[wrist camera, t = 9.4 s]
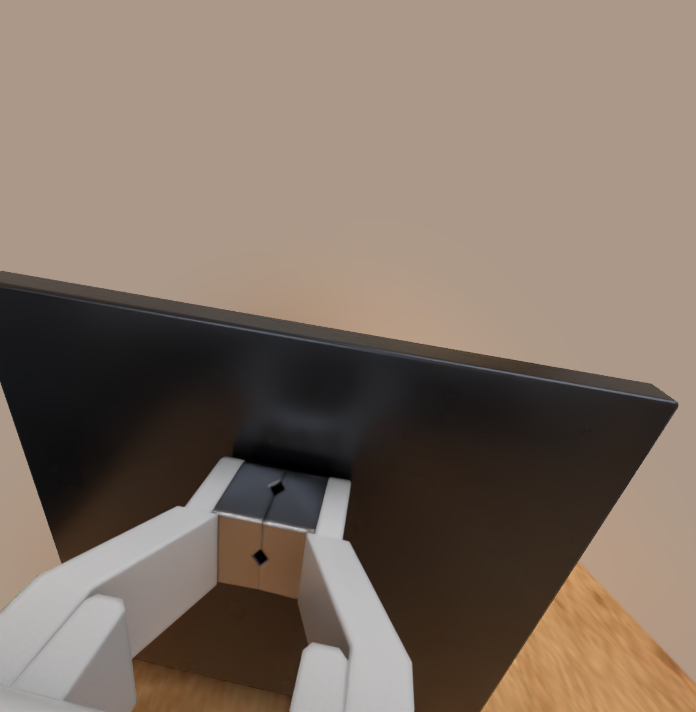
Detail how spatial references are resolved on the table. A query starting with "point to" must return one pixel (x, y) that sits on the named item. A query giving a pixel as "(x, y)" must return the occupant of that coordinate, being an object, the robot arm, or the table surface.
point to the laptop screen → (325, 466)
